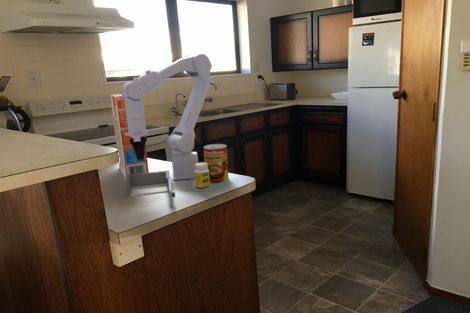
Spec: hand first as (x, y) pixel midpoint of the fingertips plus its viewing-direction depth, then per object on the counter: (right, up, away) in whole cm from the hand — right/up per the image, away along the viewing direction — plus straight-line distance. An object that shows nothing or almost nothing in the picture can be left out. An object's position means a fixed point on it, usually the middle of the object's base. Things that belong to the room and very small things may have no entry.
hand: (140, 159), depth 126 cm
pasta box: (-8, -5, +21) cm, 23 cm away
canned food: (+26, -8, +4) cm, 27 cm away
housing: (+4, -10, -2) cm, 11 cm away
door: (+13, -12, -13) cm, 22 cm away
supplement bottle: (+21, -10, -5) cm, 24 cm away
